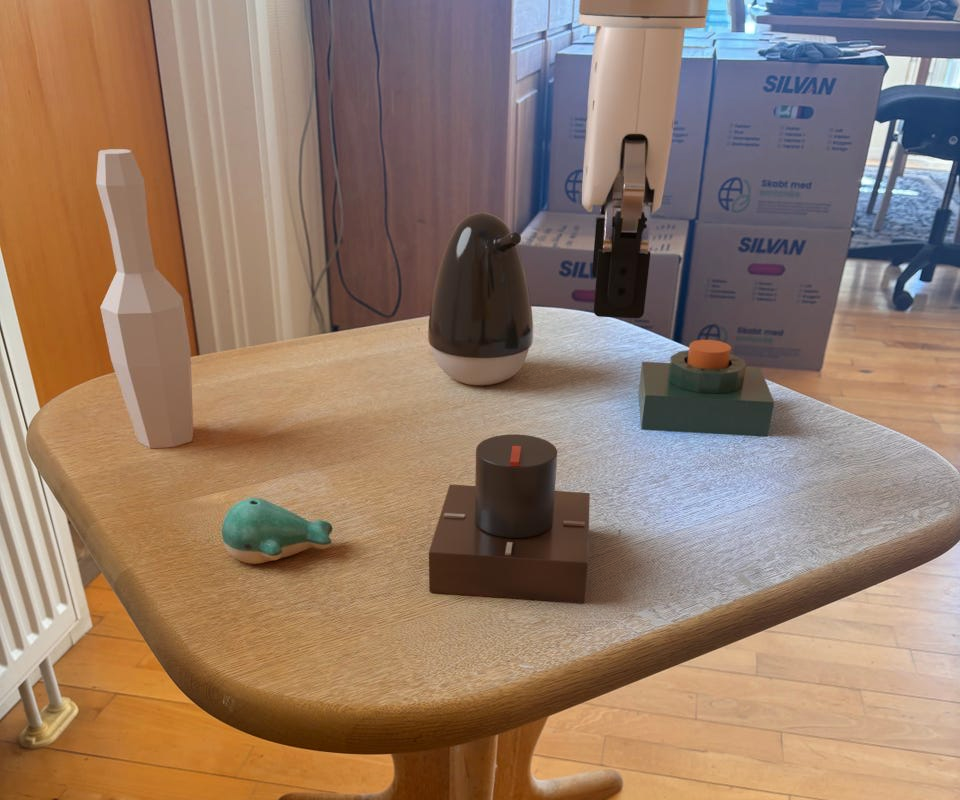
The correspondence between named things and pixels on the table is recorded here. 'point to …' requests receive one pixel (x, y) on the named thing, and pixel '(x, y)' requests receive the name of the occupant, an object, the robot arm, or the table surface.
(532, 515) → the dial
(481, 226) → the pump dispenser
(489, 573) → the dial panel
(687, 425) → the green button base
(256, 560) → the whale figurine
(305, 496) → the table surface
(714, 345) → the orange push button
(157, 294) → the low poly bottle
